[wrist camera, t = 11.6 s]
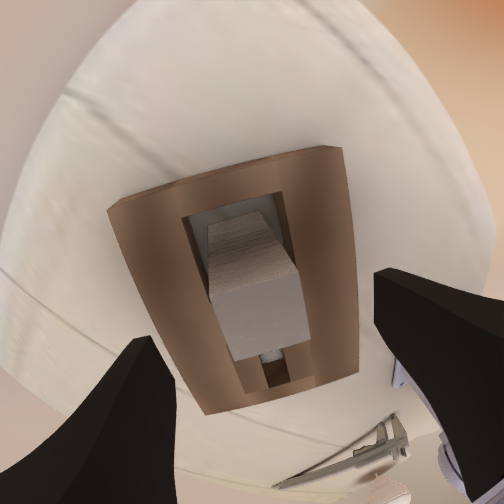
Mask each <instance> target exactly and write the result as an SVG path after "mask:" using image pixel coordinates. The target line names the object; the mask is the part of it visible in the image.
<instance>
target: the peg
mask: <svg viewBox="0 0 504 504" xmlns="http://www.w3.org/2000/svg"><path fill="white" fill-rule="evenodd" d="M208 267H209V298H210V301H211V303H212V306H213V309H214V311H215V314H216V316H217V319H218V322H219V324H220V327H221V329H222V332H223V334H224V337H225V339H226V342H227V344H228V347H229V349H230V352H231V354H232V357H233V359H234V361H238V360H242V359H246V358H250V357H253V356H257V355H261V354H264V353H268V352H271V351H274V350H278V349H281V348H285V347H288V346H291V345H294V344H297V343H301V342H304V341H307V340H310V339H311V337H310V331H309V325H308V319H307V314H306V308H305V303H304V297H303V292H302V286H301V281H300V276H299V271H298V270H297V268H296V267H295V265H294V264H293V262H292V261H291V259H290V258H289V256H288V254H287V253H286V251H285V250H284V248H283V247H282V245H281V244H280V242H279V241H278V239H277V238H276V236H275V235H274V233H273V232H272V230H271V229H270V227H269V226H268V224H267V223H266V221H265V220H264V218H263V217H262V215H261V214H260V212H259V211H256V212H253V213H249V214H246V215H242V216H238V217H235V218H231V219H228V220H224V221H221V222H218V223H214V224H211V225H208Z"/></svg>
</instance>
